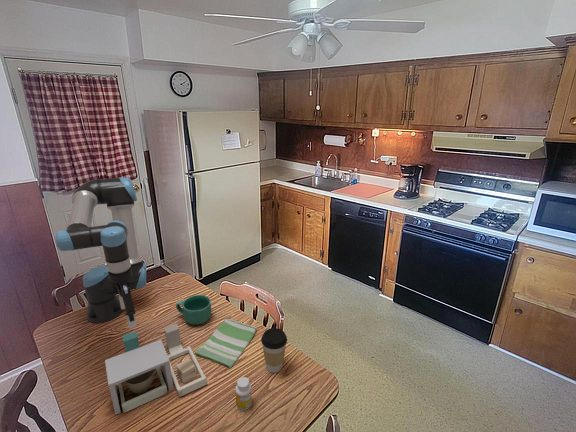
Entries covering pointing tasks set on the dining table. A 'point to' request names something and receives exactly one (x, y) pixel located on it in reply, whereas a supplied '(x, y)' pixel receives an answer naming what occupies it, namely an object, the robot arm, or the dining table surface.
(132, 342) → the frame
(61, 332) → the dining table surface
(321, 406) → the dining table surface
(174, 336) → the open frame with post
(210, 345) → the dish towel
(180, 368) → the birch block
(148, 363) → the shelf
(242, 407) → the supplement bottle
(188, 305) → the mug
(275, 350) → the coffee cup
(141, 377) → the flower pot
